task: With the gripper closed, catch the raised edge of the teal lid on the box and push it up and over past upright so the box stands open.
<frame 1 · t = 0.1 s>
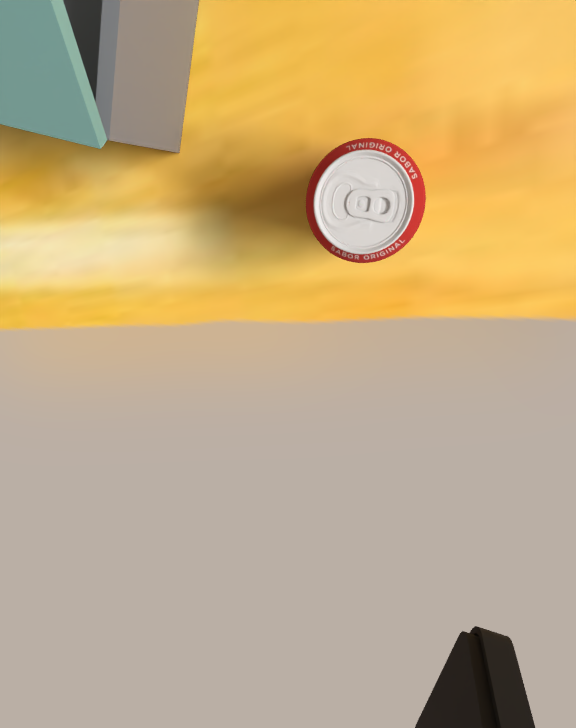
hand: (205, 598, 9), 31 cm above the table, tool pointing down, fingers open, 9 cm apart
beverage can: (371, 199, 36), on the table
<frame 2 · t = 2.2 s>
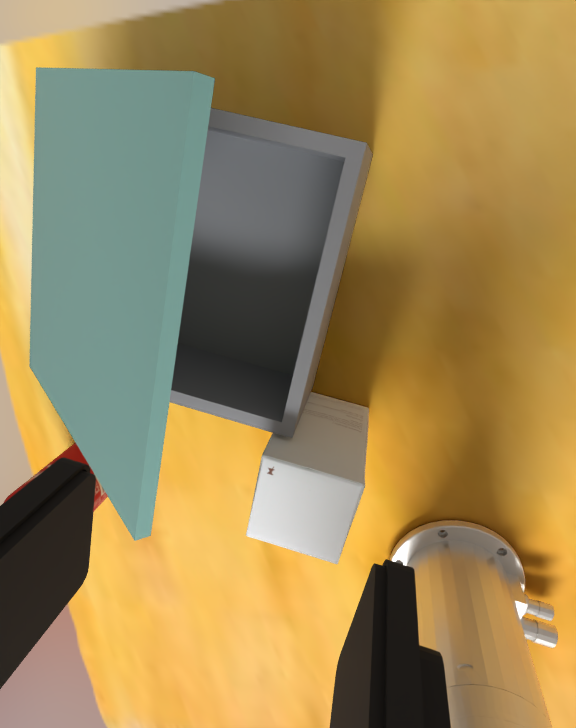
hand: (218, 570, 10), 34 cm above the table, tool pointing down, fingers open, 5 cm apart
supplement box: (323, 429, 46), on the table
beverage can: (101, 459, 53), on the table
lid: (87, 276, 27), point 17 cm above the table, hinge at 40.0°
box: (227, 252, 42), on the table
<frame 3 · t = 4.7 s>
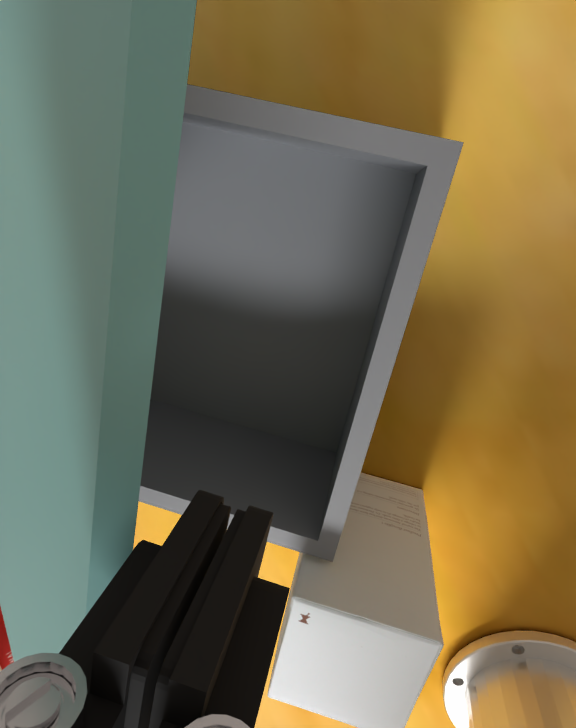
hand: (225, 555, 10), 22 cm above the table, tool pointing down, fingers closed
supplement box: (361, 514, 36), on the table
beverage can: (78, 540, 42), on the table
lid: (7, 365, 16), point 17 cm above the table, hinge at 41.4°, touching gripper
box: (236, 289, 32), on the table
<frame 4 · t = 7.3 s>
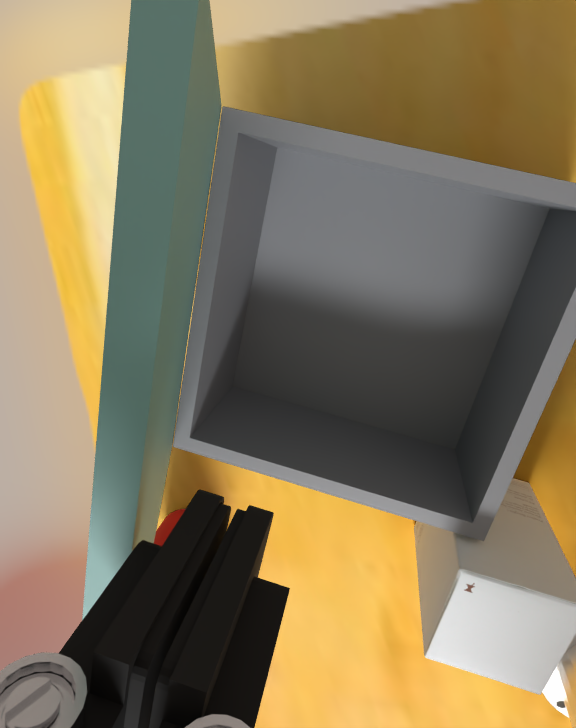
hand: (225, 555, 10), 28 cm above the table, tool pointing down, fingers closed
supplement box: (469, 504, 40), on the table
beverage can: (198, 529, 47), on the table
lid: (166, 368, 19), point 20 cm above the table, hinge at 71.7°, touching gripper
box: (372, 305, 36), on the table
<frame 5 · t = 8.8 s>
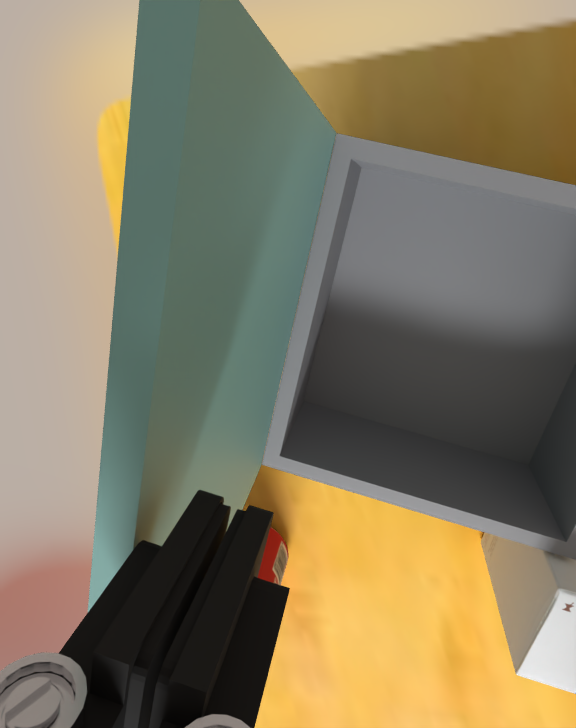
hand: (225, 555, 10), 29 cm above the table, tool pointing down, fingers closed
supplement box: (538, 518, 40), on the table
beverage can: (258, 541, 47), on the table
lid: (242, 382, 19), point 20 cm above the table, hinge at 88.3°, touching gripper
box: (448, 322, 36), on the table
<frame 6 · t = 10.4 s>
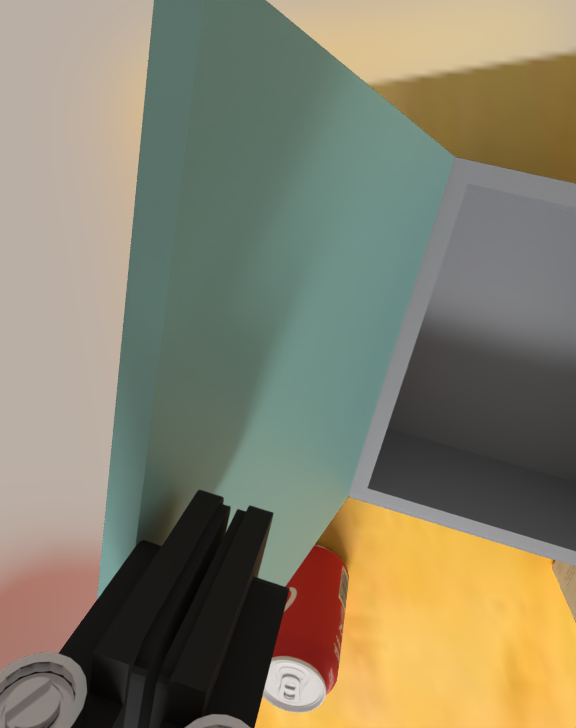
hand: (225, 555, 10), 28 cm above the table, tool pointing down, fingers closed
beverage can: (315, 564, 46), on the table
lid: (315, 405, 18), point 20 cm above the table, hinge at 105.2°, touching gripper
box: (530, 344, 35), on the table
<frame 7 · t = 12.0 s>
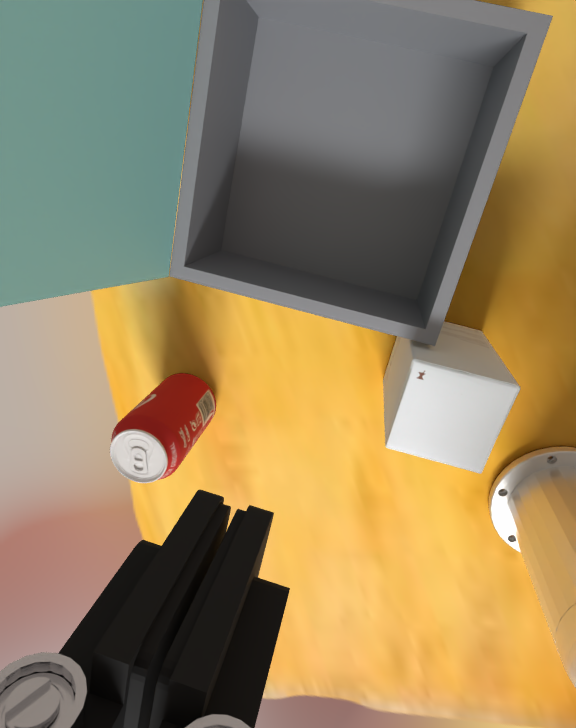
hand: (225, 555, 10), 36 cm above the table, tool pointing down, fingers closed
supplement box: (431, 356, 46), on the table
beverage can: (190, 396, 52), on the table
lid: (56, 99, 24), point 20 cm above the table, hinge at 105.2°
box: (344, 168, 41), on the table
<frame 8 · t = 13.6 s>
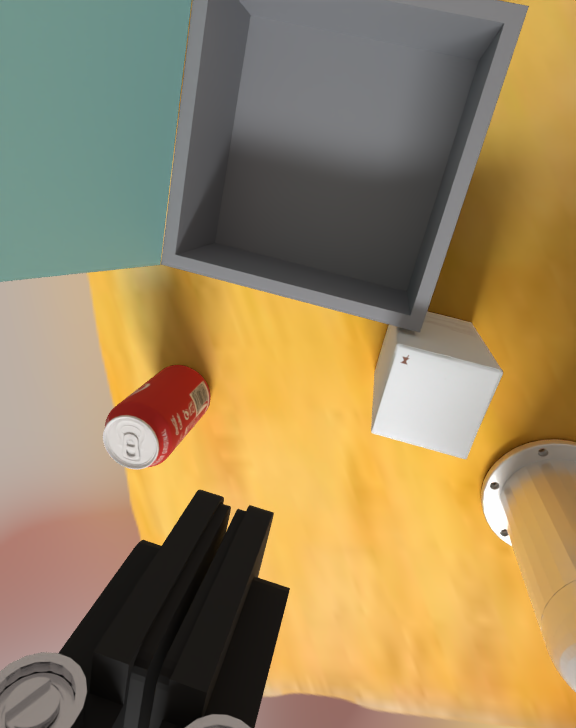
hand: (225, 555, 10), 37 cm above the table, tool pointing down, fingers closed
supplement box: (422, 348, 46), on the table
beverage can: (186, 388, 52), on the table
lid: (46, 84, 25), point 20 cm above the table, hinge at 105.2°
box: (334, 161, 42), on the table
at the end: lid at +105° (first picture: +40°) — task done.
